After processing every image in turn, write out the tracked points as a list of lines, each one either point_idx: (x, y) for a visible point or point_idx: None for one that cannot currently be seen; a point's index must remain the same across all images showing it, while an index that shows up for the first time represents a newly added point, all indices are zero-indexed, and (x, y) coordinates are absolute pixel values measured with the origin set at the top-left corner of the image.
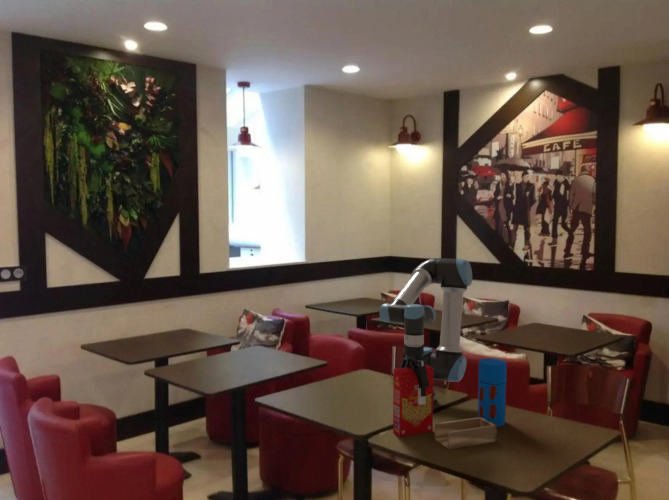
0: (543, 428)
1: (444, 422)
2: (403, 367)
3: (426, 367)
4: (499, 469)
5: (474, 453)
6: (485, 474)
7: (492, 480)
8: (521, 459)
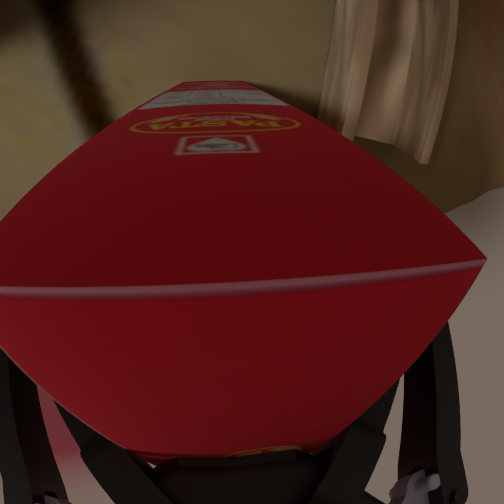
0: None
1: (353, 99)
2: (32, 402)
3: (301, 393)
4: (495, 140)
5: (443, 110)
6: (487, 178)
7: (497, 185)
8: (497, 63)
